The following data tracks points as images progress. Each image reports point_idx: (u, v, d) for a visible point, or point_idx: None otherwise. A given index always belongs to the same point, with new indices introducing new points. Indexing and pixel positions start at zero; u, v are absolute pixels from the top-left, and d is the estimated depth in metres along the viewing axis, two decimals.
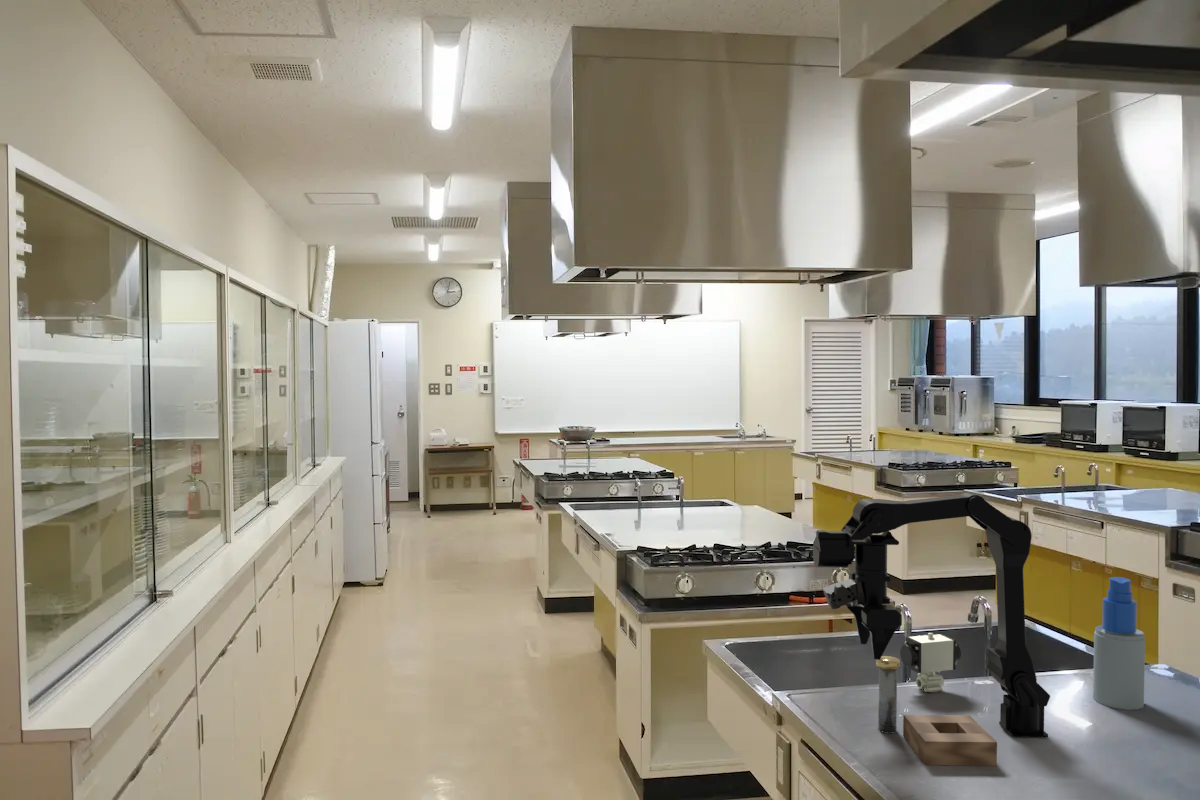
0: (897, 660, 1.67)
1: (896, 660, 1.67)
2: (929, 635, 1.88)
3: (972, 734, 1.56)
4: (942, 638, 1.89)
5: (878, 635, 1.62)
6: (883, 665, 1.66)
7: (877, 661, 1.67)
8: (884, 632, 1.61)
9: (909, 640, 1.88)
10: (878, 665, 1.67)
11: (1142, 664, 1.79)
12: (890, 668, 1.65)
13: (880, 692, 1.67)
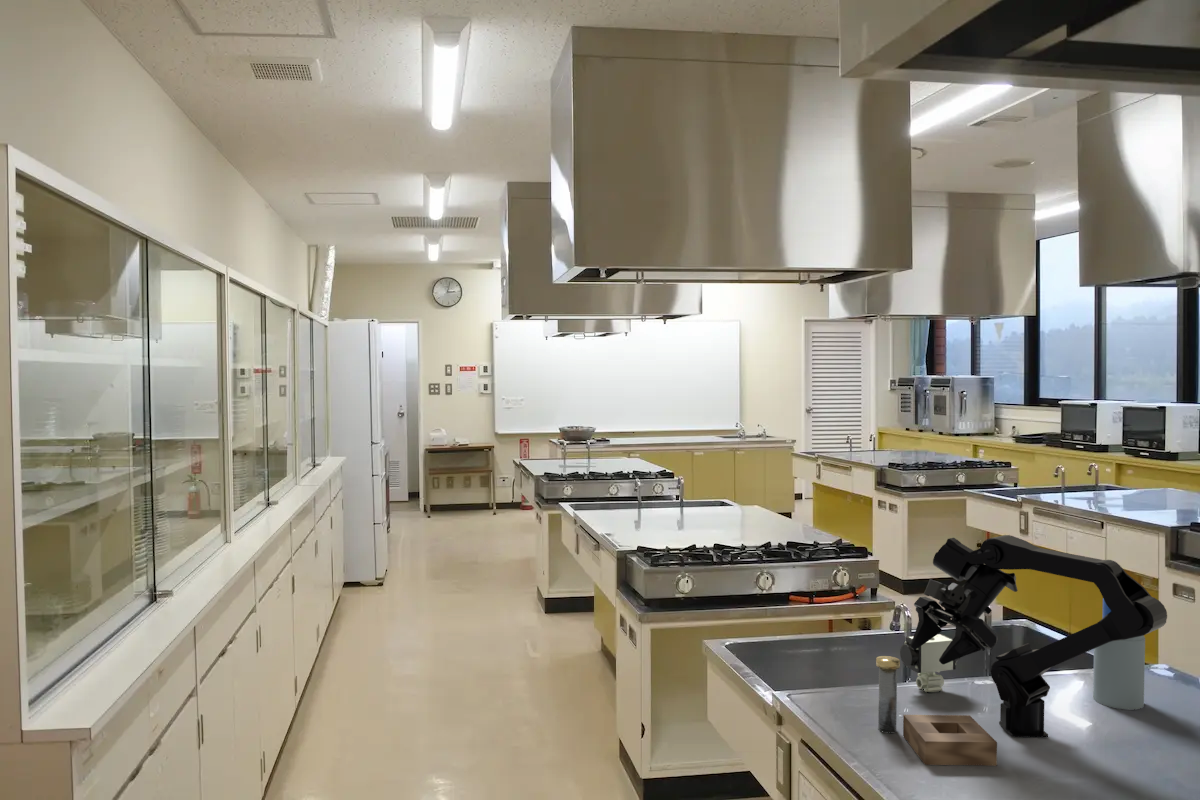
0: (897, 660, 1.67)
1: (896, 660, 1.67)
2: None
3: (972, 734, 1.56)
4: (942, 638, 1.89)
5: (960, 644, 1.64)
6: (883, 665, 1.66)
7: (877, 661, 1.67)
8: (966, 646, 1.64)
9: (909, 640, 1.88)
10: (878, 665, 1.67)
11: (1142, 664, 1.79)
12: (890, 668, 1.65)
13: (880, 692, 1.67)
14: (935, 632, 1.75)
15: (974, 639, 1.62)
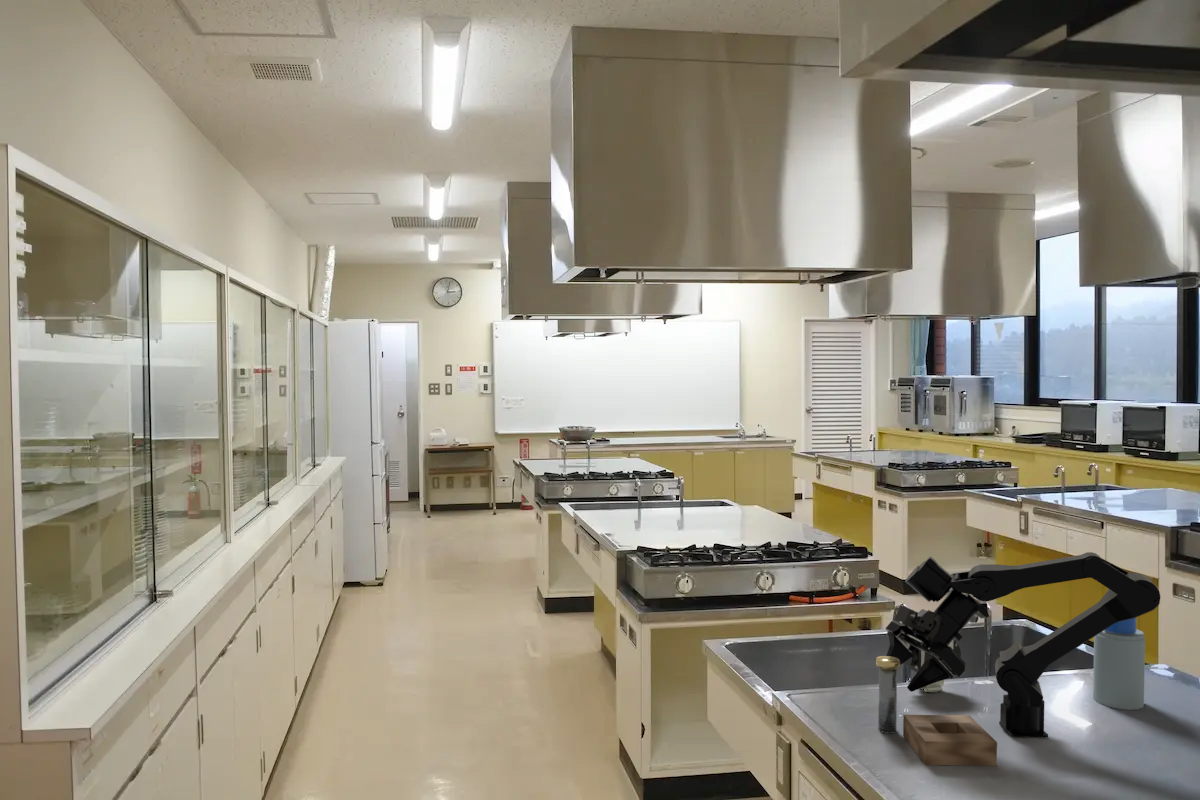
0: (897, 660, 1.67)
1: (896, 660, 1.67)
2: None
3: (972, 734, 1.56)
4: None
5: (928, 671, 1.63)
6: (883, 665, 1.66)
7: (877, 661, 1.67)
8: (934, 673, 1.63)
9: None
10: (878, 665, 1.67)
11: (1142, 664, 1.79)
12: (890, 668, 1.65)
13: (880, 692, 1.67)
14: (906, 657, 1.74)
15: (942, 667, 1.61)
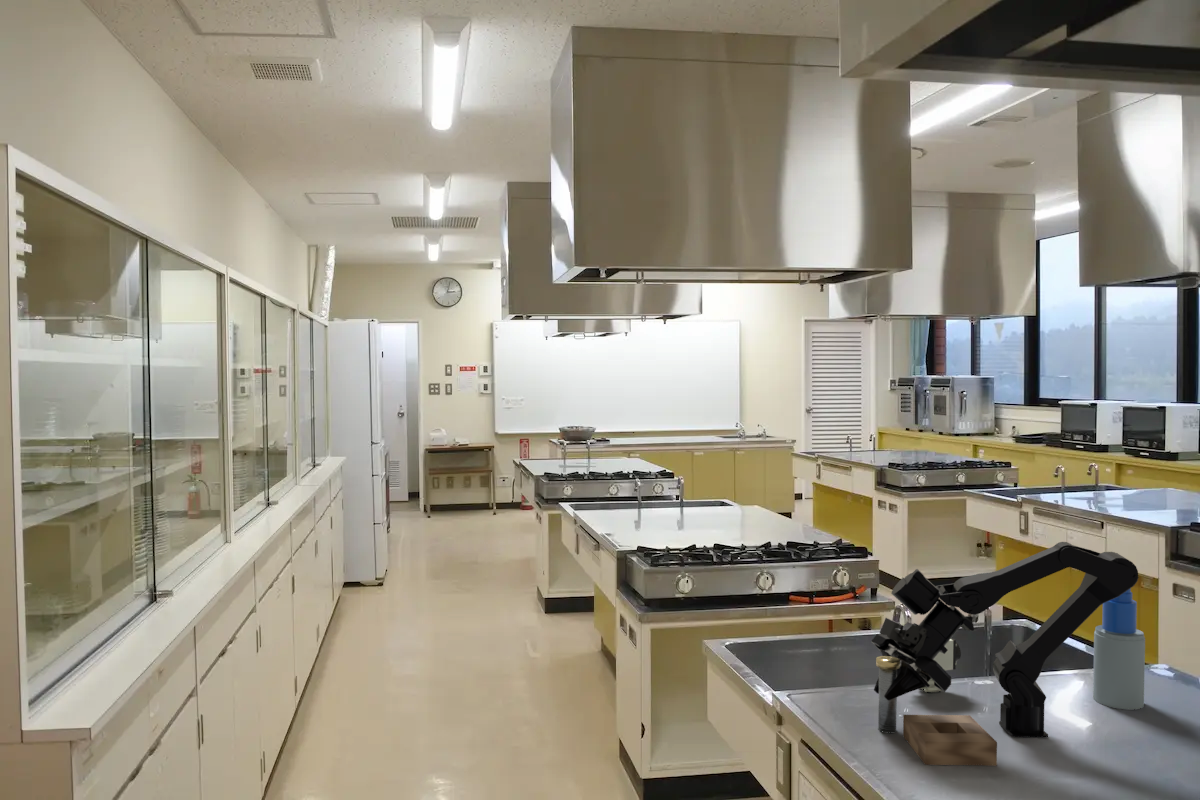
0: (897, 660, 1.67)
1: (896, 660, 1.67)
2: None
3: (972, 734, 1.56)
4: None
5: (905, 680, 1.65)
6: (883, 665, 1.66)
7: (877, 661, 1.67)
8: (911, 682, 1.65)
9: None
10: (878, 665, 1.67)
11: (1142, 664, 1.79)
12: (890, 668, 1.65)
13: (880, 692, 1.67)
14: None
15: (918, 676, 1.63)
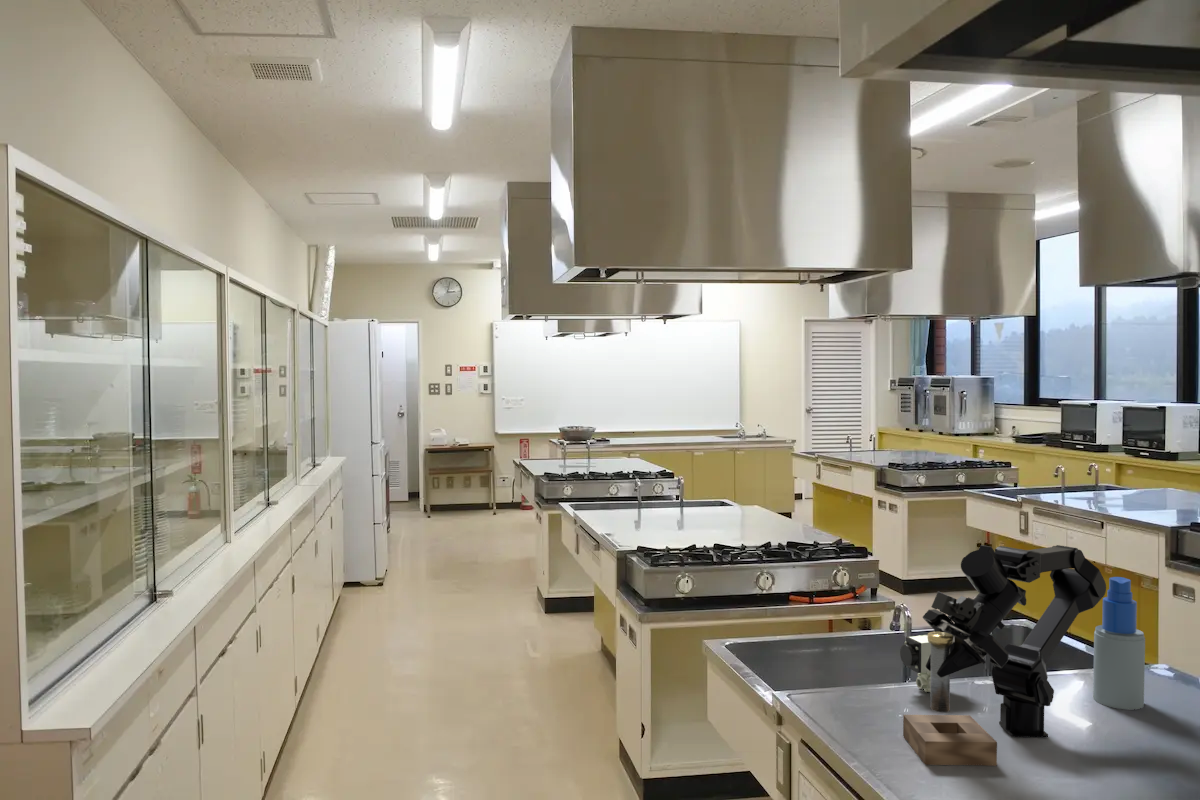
0: (950, 636, 1.59)
1: (949, 636, 1.59)
2: None
3: (972, 734, 1.56)
4: None
5: (959, 657, 1.57)
6: (935, 641, 1.58)
7: (929, 637, 1.59)
8: (965, 659, 1.57)
9: (909, 640, 1.88)
10: (930, 641, 1.59)
11: (1142, 664, 1.79)
12: (942, 644, 1.57)
13: (932, 669, 1.59)
14: None
15: (973, 651, 1.55)
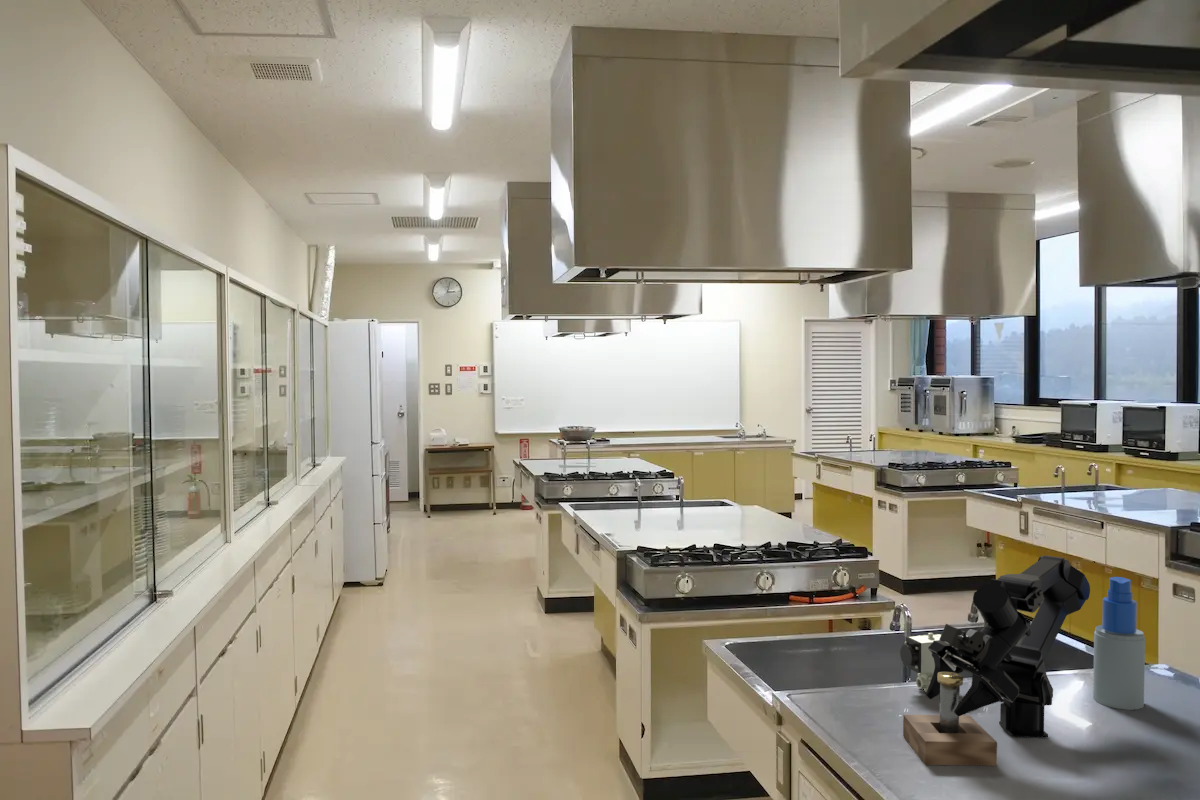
0: (960, 676, 1.58)
1: (959, 676, 1.58)
2: (929, 635, 1.88)
3: (972, 734, 1.56)
4: None
5: (977, 695, 1.53)
6: (945, 681, 1.57)
7: (939, 677, 1.58)
8: (983, 697, 1.54)
9: (909, 640, 1.88)
10: (940, 681, 1.58)
11: (1142, 664, 1.79)
12: (953, 684, 1.56)
13: (941, 710, 1.58)
14: None
15: (992, 690, 1.52)
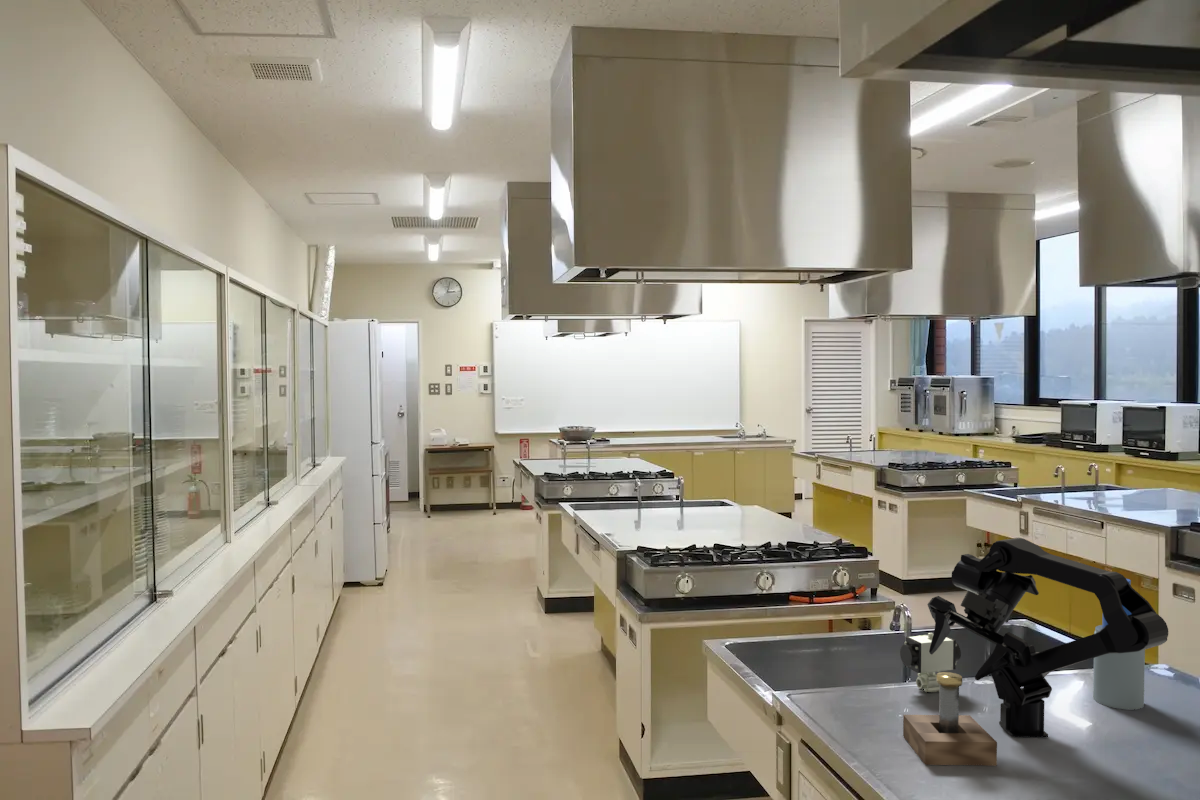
0: (959, 677, 1.58)
1: (958, 677, 1.58)
2: (929, 635, 1.88)
3: (972, 734, 1.56)
4: None
5: (995, 661, 1.61)
6: (945, 682, 1.57)
7: (938, 678, 1.58)
8: (999, 662, 1.62)
9: (909, 640, 1.88)
10: (939, 682, 1.58)
11: (1142, 664, 1.79)
12: (952, 685, 1.56)
13: (941, 710, 1.58)
14: (947, 634, 1.71)
15: (1013, 658, 1.60)
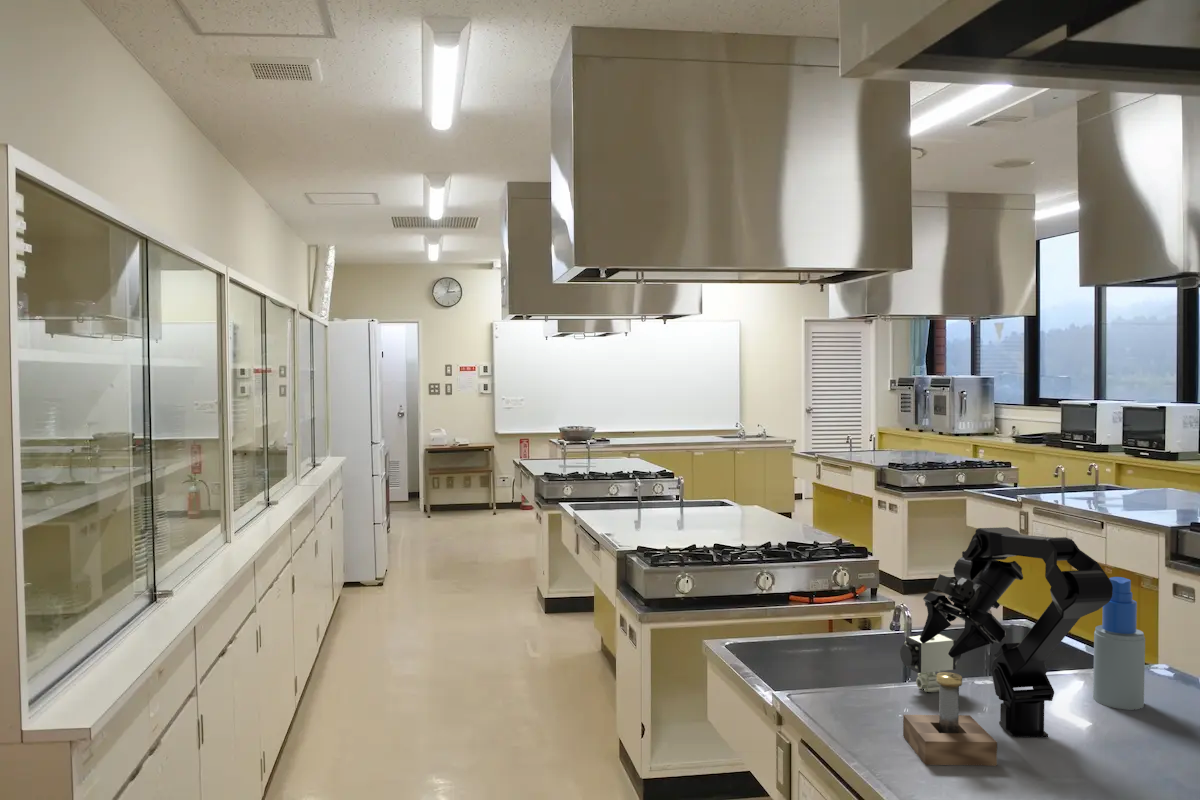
0: (959, 677, 1.58)
1: (958, 677, 1.58)
2: None
3: (972, 734, 1.56)
4: (942, 638, 1.89)
5: (969, 638, 1.68)
6: (945, 682, 1.57)
7: (938, 678, 1.58)
8: (975, 640, 1.68)
9: (909, 640, 1.88)
10: (939, 682, 1.58)
11: (1142, 664, 1.79)
12: (952, 685, 1.56)
13: (941, 710, 1.58)
14: (944, 626, 1.79)
15: (983, 633, 1.66)
